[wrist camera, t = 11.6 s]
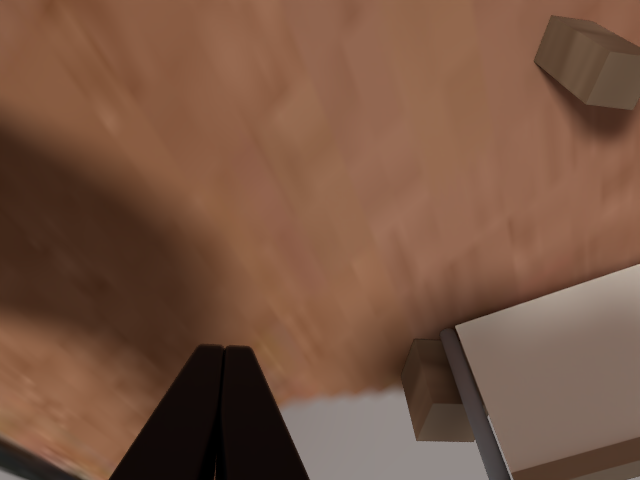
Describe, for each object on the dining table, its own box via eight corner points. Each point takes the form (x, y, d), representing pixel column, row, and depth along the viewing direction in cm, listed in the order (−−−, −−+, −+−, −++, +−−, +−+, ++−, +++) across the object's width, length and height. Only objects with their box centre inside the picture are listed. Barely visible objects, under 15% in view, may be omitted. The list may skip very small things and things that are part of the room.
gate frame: (400, 376, 30) (416, 441, 26) (532, 12, 18) (587, 48, 15) (452, 378, 30) (473, 442, 27) (611, 24, 19) (681, 61, 16)
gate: (436, 329, 27) (495, 499, 20) (724, 232, 25) (905, 387, 18) (442, 343, 28) (501, 513, 21) (723, 250, 25) (897, 407, 18)
